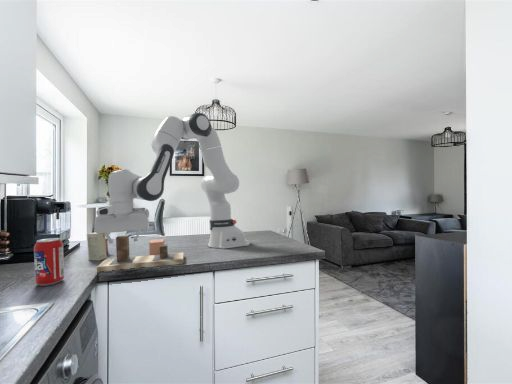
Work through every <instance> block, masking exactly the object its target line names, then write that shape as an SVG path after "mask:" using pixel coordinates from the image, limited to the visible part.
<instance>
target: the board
mask: <svg viewBox="0 0 512 384" xmlns="http://www.w3.org/2000/svg"><path fill="white" fill-rule="evenodd" d="M134 257H135V259H134V260H133V261H132V263H124V264H113V265H109V264H110V263H111V262H112V261H113V260H114V259H117V257H116V258H106V259H103V261H102V262H101V263H99V264H98V265H97V266H96V273H103V272H102V271H104V272H113V271H112V270H114V271H121V270H120V269H124V270H131V269H130V268H135V269H141V268H140V267H145V268H154V267H162V266H163V267H164V266H173V265H174V266H175V265H183V264H184V252H183V251H182V252H174V253H168V244H164V245H160V254H159V255H150V254H148V255H138V256H137V255H136V256H134ZM100 271H101V272H100Z"/></svg>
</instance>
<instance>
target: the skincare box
mask: <svg viewBox="0 0 512 384" xmlns="http://www.w3.org/2000/svg"><path fill="white" fill-rule="evenodd" d="M86 237H87V238H86V240H87V253H88V261H98V262H99V261H102V260H105V259H107V254H106V241H105V238H106V237H105V233H99V234H97V233H96V232H95V231H94V232H90V233H87V234H86Z"/></svg>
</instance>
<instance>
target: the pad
mask: <svg viewBox="0 0 512 384" xmlns="http://www.w3.org/2000/svg"><path fill="white" fill-rule="evenodd" d="M129 257H130V259H129V260H128V261H124V262H117V259H114V258H113V259H114V260H113V261H112V262H111V263H110V264H109V265H113V264H124V263H132V261H133V260H134V259H135V257H136V256H129Z"/></svg>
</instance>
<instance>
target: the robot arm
mask: <svg viewBox="0 0 512 384" xmlns="http://www.w3.org/2000/svg"><path fill="white" fill-rule="evenodd" d="M191 139H196V140H197V142H198V144H199V150H200V154H201V157H202V160H203V164H204V166H205V167H206V169H208V170H209V171H210V173H211V174H208V175H206V176H204V177H203V178H202V180H201V181H200V187H201V189H202V190H203V192H204V193H205V195H206V198H207V200H208V203H209V215H210V216H209V217H210V219H209V230H210V231H209V233H210V234H209V241H208V244H207V246H208V247H209V248H215V249H216V248H217V249H223V250H224V249H231V248H239V247H246V246H250V245H251V243H250V241H249V240H247V239H246V235H245V232H244V231H243V230H241V229H240V228H239V227H238V226H236V224H237V220H236V219H232V216H231V215H232V212H231V210H232V209H231V203H230V202H229V201H228V200H227V198H226V196H225V194H226V195H228V194H232V193H234V192H236V191H237V190H239V186H240V179H239V177H238V176H237V175H236V174H235V173H234V172H232V171H231V169H230V167H229V166H228V163H227V162H226V159H225V156H224V152H223V146H222V143H221V140H220V137H219V135H218V132H217V130H216V129H215V128H214V127H212V124H211V122H210V119H209V117H208V116H207V115H206V114H204V113H202V112H195V113H193V114H192V113H191V114H188V115H186V116H185V117H183V118H181V119H180V118H179V117H177V116H173V115H170V116H167V117H165V119H164V120H163V121H162V122H161V123H160V125H159V127H158V128H157V130H156V131H155V133H154V136H153V137H152V141H151V149H152V151H153V152H154V153H155V158H154V161H153V164H152V166H151V169H150V171H149V172H148V174H147V175H144V177H143V176H140V175H138V174H136V173H133V172H132V171H130V169H125V168H124V169H119V170H115V171H112V172H110V173H109V175H108V181H107V183H108V186H107V187H108V190H107V191H108V194H109V201H108V204H109V205H108V206H104V207H102V208H99V209H97V210H96V211H95V212H96V216H95V219H94V224H93V226H94V227H93V229H94V230H93V231H94V232H96V233H97V234H99V233H105V236H106V237H105V238H107V239H108V245H109V244H110V245H111V244H114V238H111V236H110V235H111V233H121V232H132V231H133V232H134V231H135V233H136V236H133V242H139V236H140V234H141V231H147V230H148V229H149V228H150V221H149V217H150V211H149V209H148V208H145V207H134V199H136V200H142V201H143V200H144V201H149V202H153V201H157V200H159V199H160V198H161V197H162V196H163V194H164V189H165V179H166V176H167V173H168V171H169V168H170V166H171V163H172V160H173V158H174V154H175V152H176V150H177V148H178V146H179V144H180V142H181V140H184V141H187V140H191Z"/></svg>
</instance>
